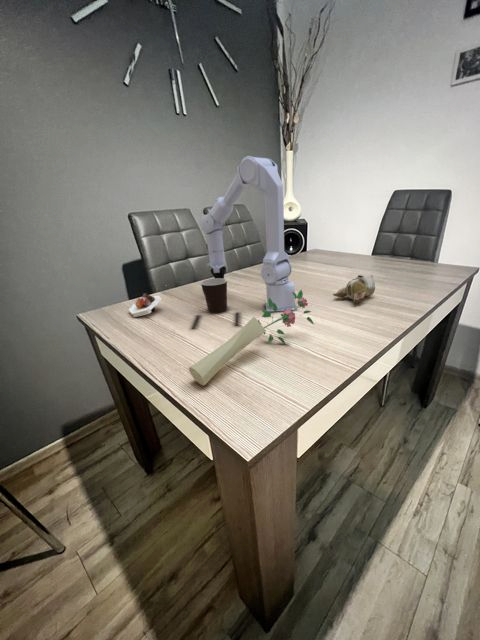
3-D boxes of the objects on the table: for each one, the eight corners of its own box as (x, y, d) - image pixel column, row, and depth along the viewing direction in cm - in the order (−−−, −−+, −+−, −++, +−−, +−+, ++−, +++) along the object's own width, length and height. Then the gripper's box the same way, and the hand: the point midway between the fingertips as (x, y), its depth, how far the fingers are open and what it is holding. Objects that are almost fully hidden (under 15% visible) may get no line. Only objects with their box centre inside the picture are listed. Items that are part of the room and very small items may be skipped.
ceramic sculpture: (386, 272, 94) (357, 284, 87) (382, 296, 98) (355, 309, 91) (360, 268, 101) (331, 278, 95) (358, 290, 106) (331, 301, 99)
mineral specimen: (171, 305, 96) (160, 287, 92) (145, 325, 91) (132, 307, 87) (156, 301, 104) (145, 284, 100) (131, 319, 99) (118, 303, 95)
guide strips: (238, 313, 92) (238, 312, 92) (238, 325, 83) (238, 324, 83) (197, 316, 91) (196, 315, 91) (192, 328, 83) (192, 327, 83)
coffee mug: (225, 315, 91) (221, 285, 86) (201, 314, 93) (196, 285, 88) (235, 303, 101) (232, 276, 96) (213, 302, 103) (209, 276, 98)
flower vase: (203, 401, 64) (290, 323, 82) (232, 413, 55) (323, 321, 73) (176, 361, 60) (274, 287, 77) (203, 367, 50) (308, 281, 68)
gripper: (207, 248, 106) (212, 282, 113) (202, 255, 94) (208, 293, 101) (225, 247, 107) (229, 281, 113) (223, 253, 94) (227, 292, 101)
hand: (220, 287), depth 107 cm, fingers closed
